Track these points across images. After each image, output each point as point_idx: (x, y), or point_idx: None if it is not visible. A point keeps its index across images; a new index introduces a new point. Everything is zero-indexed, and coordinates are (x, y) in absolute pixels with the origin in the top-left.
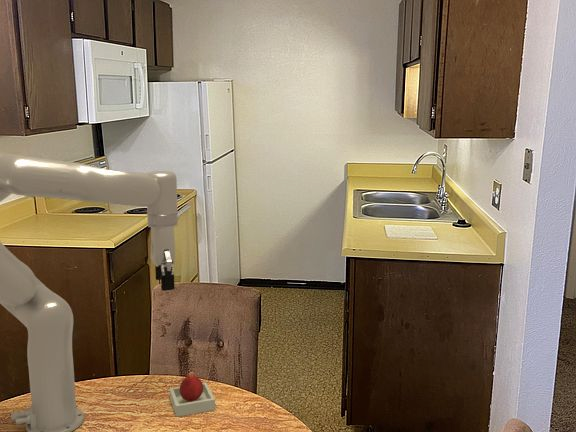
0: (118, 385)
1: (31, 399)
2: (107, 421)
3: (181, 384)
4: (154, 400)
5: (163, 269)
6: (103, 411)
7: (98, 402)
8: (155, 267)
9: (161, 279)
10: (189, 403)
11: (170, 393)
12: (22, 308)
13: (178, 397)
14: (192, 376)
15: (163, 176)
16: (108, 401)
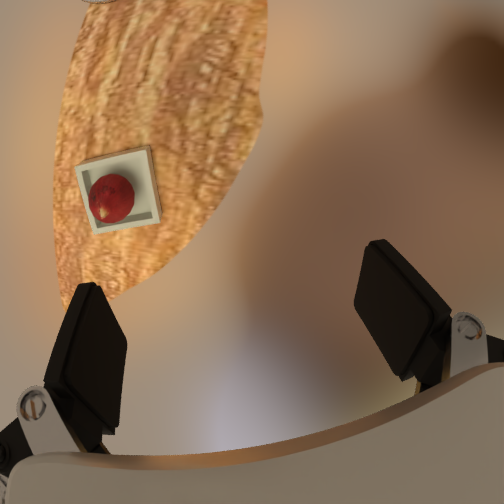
0: (239, 44)
1: None
2: (93, 41)
3: (101, 184)
4: (149, 115)
5: (35, 445)
6: (132, 26)
7: (172, 12)
8: (434, 299)
9: (53, 349)
10: (82, 190)
11: (135, 150)
12: None
13: (141, 163)
14: (98, 213)
15: None
16: (170, 28)
